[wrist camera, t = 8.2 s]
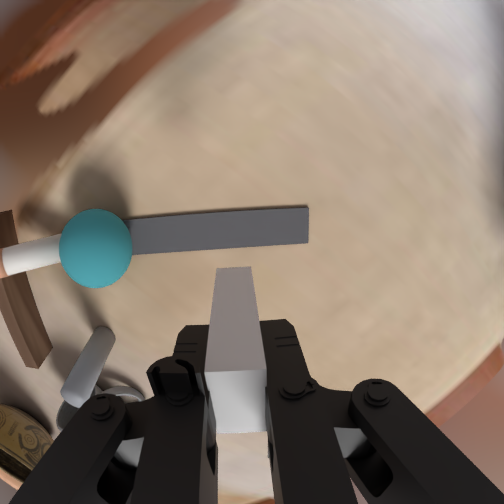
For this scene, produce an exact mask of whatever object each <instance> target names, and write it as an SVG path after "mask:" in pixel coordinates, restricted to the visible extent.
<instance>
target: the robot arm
mask: <svg viewBox="0 0 504 504" xmlns="http://www.w3.org/2000/svg"><path fill="white" fill-rule="evenodd" d="M146 373H147V376H148V379H149V382H150V385H151V387H152V390H153V393H154V397H152V398H150V399H147V400H144V401H139V402H134V403H128V404H125V403H124V402H123V401H122V399H121V398H120V397H118V396H116V395H114V394H108V393H103V394H97V395H95V396H93V397H90V398H89V399H88V400H87V401H86V402H84V403H83V405H82V406H81V407H80V408H79V410H78V411H77V412H76V413H75V415H74V416H73V417H72V419H71V420H70V421H69V422H68V424H67V425H66V426H65V428H64V429H63V430H62V431H61V433H60V434H59V435H58V437H57V438H56V439H55V441H54V442H53V443H52V445H51V446H50V447H49V449H48V450H47V451H46V453H45V454H44V455H43V457H42V458H41V459H40V461H39V462H38V463H37V465H36V466H35V467H34V469H33V470H32V471H31V473H30V474H29V476H28V477H27V478H26V480H25V481H24V483H23V484H22V485H21V487H20V488H19V490H18V491H17V492H16V494H15V495H14V497H13V498H12V500H11V501H10V503H9V504H218V447H217V443H216V430H217V434H221V433H247V432H262V431H267V434H268V458H269V459H270V467H271V475H272V483H273V491H274V499H275V504H358V502H357V498H356V495H355V493H354V489H353V486H352V483H351V479H352V481H353V482H354V483H355V485H356V486H357V488H358V489H359V491H360V492H361V494H362V495H363V497H364V498H365V500H366V501H367V502H368V504H504V494H503V493H502V492H501V491H500V490H499V489H498V488H497V487H496V486H495V485H494V484H493V483H492V482H491V481H490V480H489V479H488V478H487V477H486V476H485V475H484V474H483V473H482V472H481V471H480V470H479V469H478V468H477V467H476V466H475V465H474V464H473V463H472V462H471V461H470V460H469V459H468V458H467V457H466V456H465V455H464V454H463V453H462V452H461V451H460V450H459V449H458V448H457V447H456V446H455V445H454V444H453V443H452V442H451V441H450V440H449V439H448V438H447V437H446V436H445V434H444V433H442V432H441V431H440V429H439V428H438V427H437V426H436V425H435V424H434V423H433V422H432V421H431V420H430V419H428V418H427V417H426V416H425V415H424V414H423V413H422V412H421V411H420V410H419V409H418V408H417V407H416V406H415V405H414V404H413V403H412V402H411V401H410V400H409V399H408V398H407V397H406V396H405V395H404V394H403V393H402V392H401V391H400V390H399V389H398V388H397V387H396V386H395V385H393V384H392V383H391V382H389V381H386V380H382V379H368V380H364V381H362V382H360V383H359V384H357V385H356V386H355V388H354V389H353V391H339V390H331V389H327V388H324V387H322V386H320V385H319V384H318V383H317V381H316V380H314V379H313V378H311V376H310V374H309V371H308V368H307V365H306V362H305V359H304V356H303V353H302V350H301V347H300V345H299V341H298V338H297V335H296V332H295V329H294V326H293V325H292V324H290V323H289V322H288V321H287V320H286V319H279V320H266V321H259V316H258V310H257V303H256V297H255V290H254V284H253V277H252V270H251V266H250V267H233V268H217V270H216V278H215V285H214V293H213V301H212V309H211V317H210V325H186V326H185V327H184V328H183V329H182V330H181V331H180V333H179V334H178V337H177V341H176V345H175V348H174V353H173V356H170V357H165V358H162V359H160V360H157V361H156V362H155V363H153V364H152V365H151V366H150V367H149V369H148V370H147V372H146ZM350 478H351V479H350Z"/></svg>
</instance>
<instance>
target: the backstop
mask: <svg viewBox="0 0 504 504" xmlns="http://www.w3.org/2000/svg"><path fill="white" fill-rule="evenodd" d="M17 244H18V240H17V235H16V231H15V225H14V220H13V214H12V210H9V211H4V212H0V248H6V247H10V246H13V245H17ZM0 310H1V313H2V315H3V318H4V320H5V323H6V325H7V327H8V330H9V332H10V334H11V337H12V339H13V341H14V343H15V345H16V347H17V349H18V351H19V353H20V356H21V357H22V359H23V361H24V363H25V365H26V367H31V368H36V369H39V367H40V366H41V364H42V363H43V361H44V360H45V358H46V357H47V355H48V354H49V353H50V351H51V350H52V348H53V347H52V344H51V342H50V340H49V337H48V335H47V333H46V330H45V328H44V325H43V323H42V320H41V317H40V315H39V312H38V309H37V306H36V304H35V301H34V298H33V295H32V292H31V289H30V285H29V282H28V279H27V275H26V272H25V271H24V272H20V273H17V274H13V275H10V276H8V277H4V278H0Z"/></svg>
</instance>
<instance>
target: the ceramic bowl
mask: <svg viewBox="0 0 504 504" xmlns="http://www.w3.org/2000/svg"><path fill="white" fill-rule="evenodd" d="M53 442H54V441H53V439H52V437H51V436H50V435H49V433H48V432H47V431H46V430H45V428H44V427H43V426H42V425H41V424H40V423H39V422H38V421H37V420H35V419H34V418H33V417H32V416H30V415H29V414H27V413H25V412H24V411H22V410H20V409H18V408H15V407H12V406H9V405H4V404H0V469H1V470H3V471H4V472H5V473H7V474H8V475H10V476H11V477H13V478H15V479H16V480H18V481H20V482H21V483H24V481H25V480H26V478H27V477H28V476H29V474H30V473H31V471H32V470H33V469H34V467H35V466H36V465H37V463H38V462H39V461H40V459H41V458H42V457H43V455H44V454H45V453H46V451H47V450H48V449H49V447H50V446H51V445H52V443H53Z"/></svg>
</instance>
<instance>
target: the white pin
mask: <svg viewBox="0 0 504 504" xmlns="http://www.w3.org/2000/svg"><path fill="white" fill-rule="evenodd" d="M61 234H62V233H61ZM61 234H57V235H53V236H49V237H45V238H41V239H37V240H33V241H29V242H25V243H21V244H17V245H13V246H10V247H6V248H0V278H4V277H8V276H10V275H13V274H17V273H20V272H24V271H28V270H32V269H36V268H39V267H43V266H47V265H51V264H55V263H59V262H61V260H60V256H59V241H60V237H61Z"/></svg>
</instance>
